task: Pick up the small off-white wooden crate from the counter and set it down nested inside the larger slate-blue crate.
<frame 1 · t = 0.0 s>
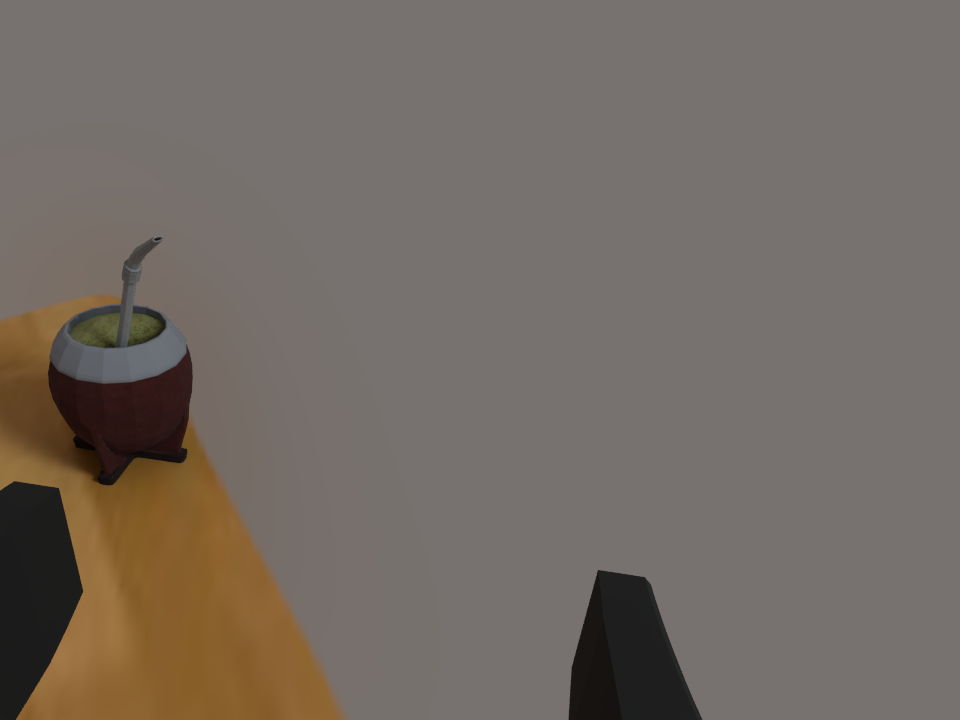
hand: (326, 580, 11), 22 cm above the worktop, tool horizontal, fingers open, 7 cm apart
mate gourd: (137, 457, 48), on the worktop
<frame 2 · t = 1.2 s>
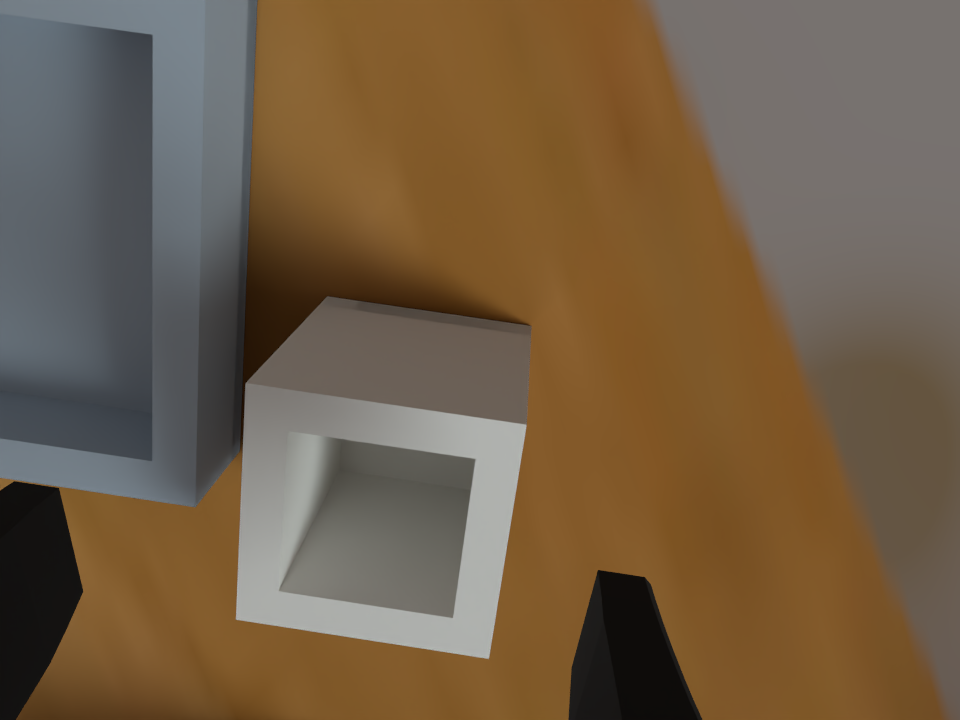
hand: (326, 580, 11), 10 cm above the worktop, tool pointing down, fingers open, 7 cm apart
big crate: (23, 212, 21), on the worktop
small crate: (418, 405, 21), on the worktop
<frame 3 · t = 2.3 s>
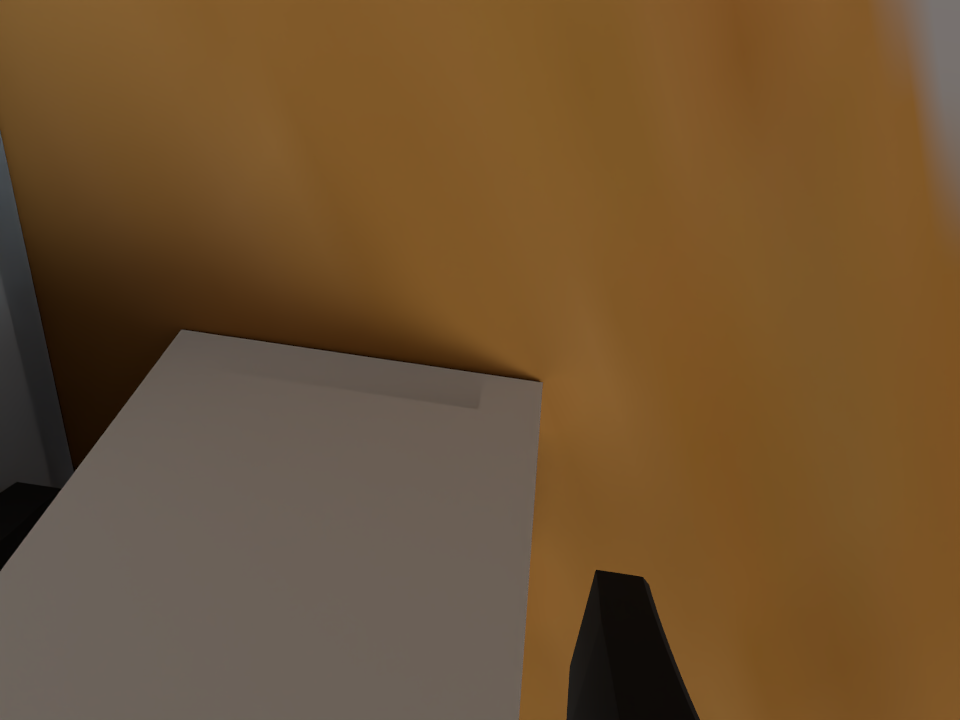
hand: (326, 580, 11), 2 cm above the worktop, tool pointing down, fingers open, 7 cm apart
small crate: (356, 490, 13), on the worktop
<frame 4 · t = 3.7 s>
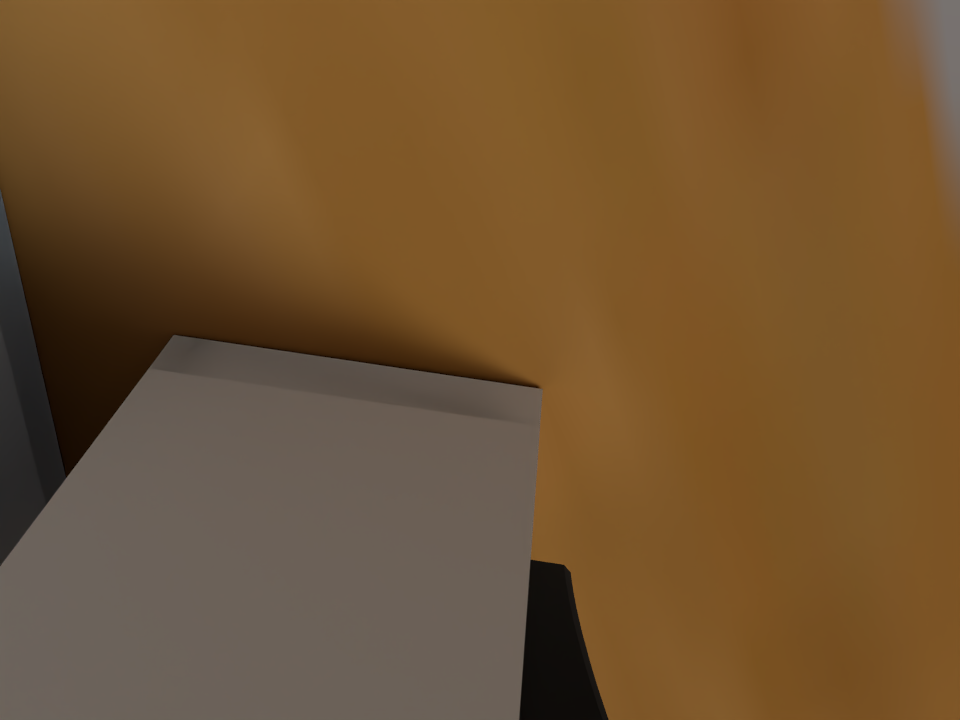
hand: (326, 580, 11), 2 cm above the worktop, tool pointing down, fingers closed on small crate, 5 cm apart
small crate: (353, 497, 13), on the worktop, touching gripper
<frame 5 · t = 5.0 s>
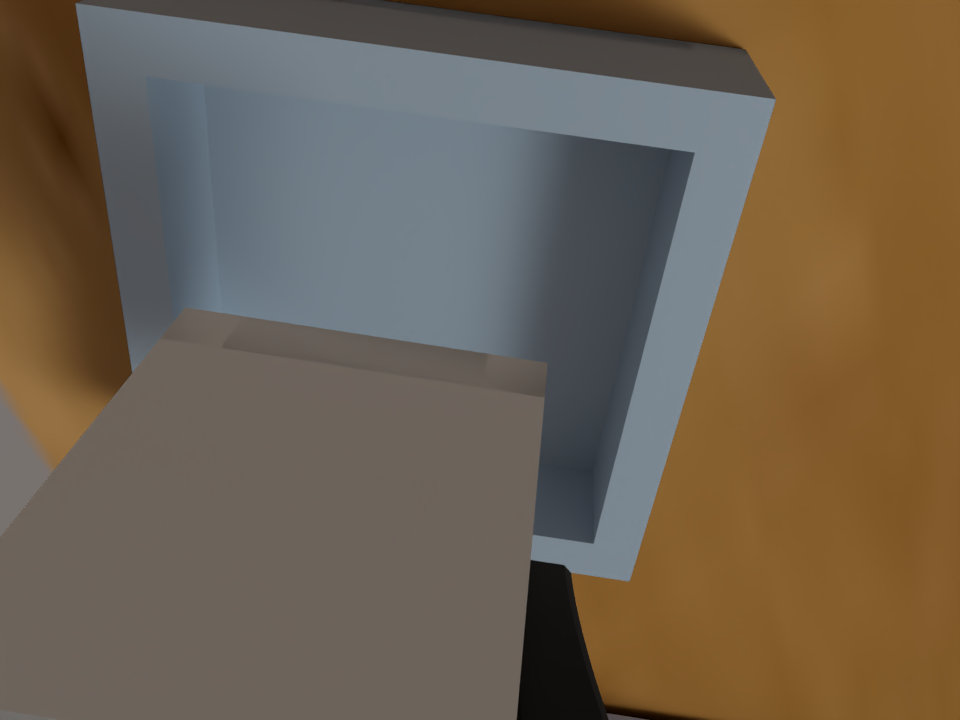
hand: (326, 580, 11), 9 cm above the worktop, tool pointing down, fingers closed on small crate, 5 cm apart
big crate: (426, 271, 19), on the worktop
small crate: (360, 472, 13), point 7 cm above the worktop, touching gripper
when the fingers open (4 cm above the worktop, at t = 6.8 s): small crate drops 1 cm, resting on big crate.
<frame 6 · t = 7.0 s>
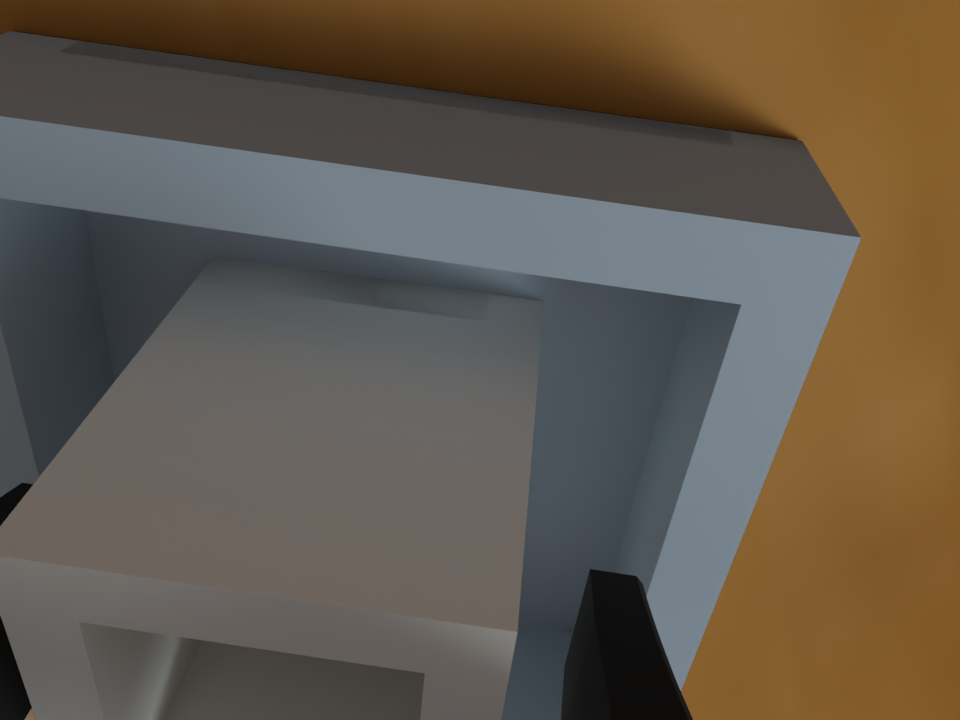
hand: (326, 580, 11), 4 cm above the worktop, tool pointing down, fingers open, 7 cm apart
big crate: (384, 402, 15), on the worktop
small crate: (373, 410, 14), point 1 cm above the worktop, touching big crate
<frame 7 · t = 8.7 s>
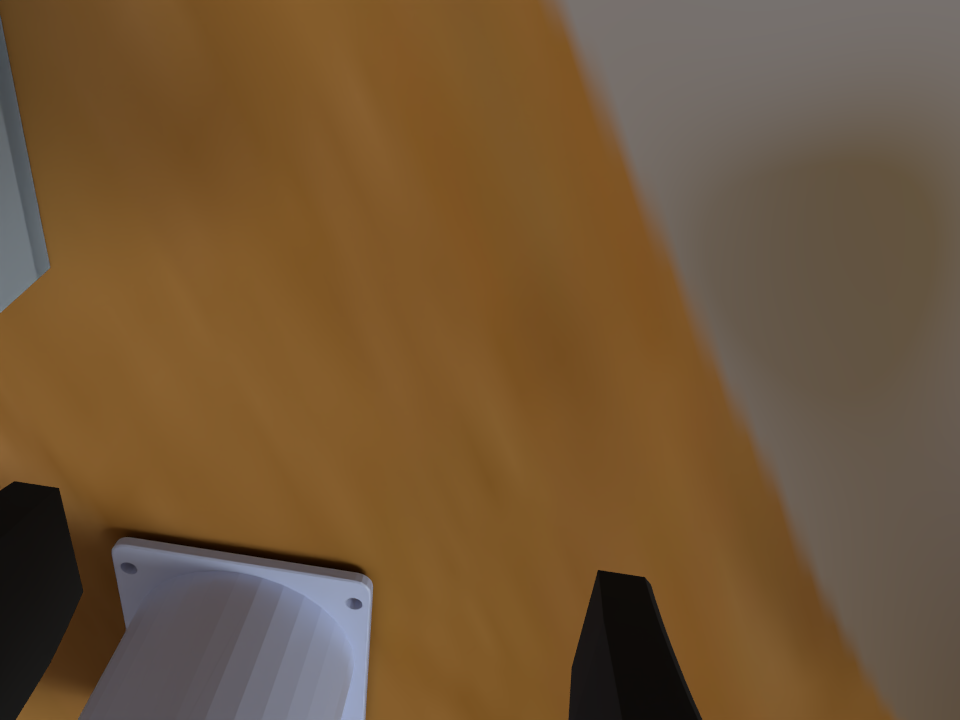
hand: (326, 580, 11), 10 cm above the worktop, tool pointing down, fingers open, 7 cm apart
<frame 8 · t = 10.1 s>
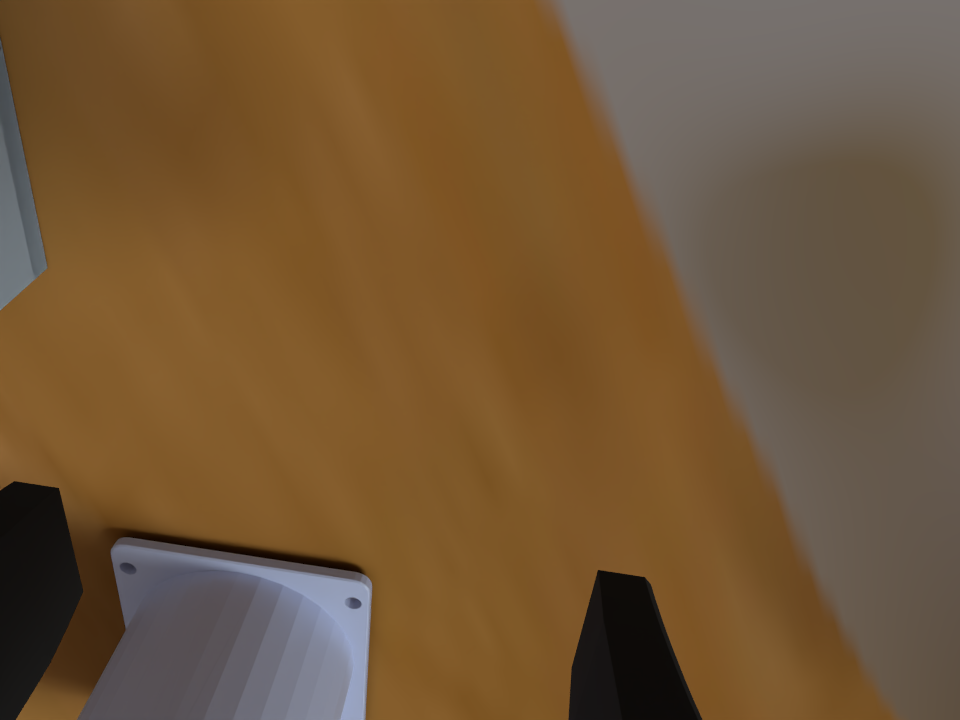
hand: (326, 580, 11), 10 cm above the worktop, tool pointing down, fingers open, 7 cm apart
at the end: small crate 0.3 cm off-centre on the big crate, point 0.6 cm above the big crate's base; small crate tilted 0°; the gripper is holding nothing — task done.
